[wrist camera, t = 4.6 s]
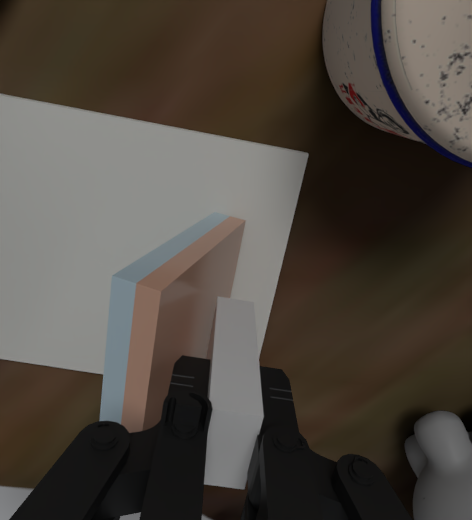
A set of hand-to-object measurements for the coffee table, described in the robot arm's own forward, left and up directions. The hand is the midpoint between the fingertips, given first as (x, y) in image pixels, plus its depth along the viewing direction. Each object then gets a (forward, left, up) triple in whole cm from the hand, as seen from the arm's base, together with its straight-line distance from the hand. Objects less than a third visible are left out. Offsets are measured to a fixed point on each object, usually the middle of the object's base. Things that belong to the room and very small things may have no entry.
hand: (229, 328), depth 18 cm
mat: (+7, 0, -5) cm, 8 cm away
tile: (+1, 0, -4) cm, 4 cm away
